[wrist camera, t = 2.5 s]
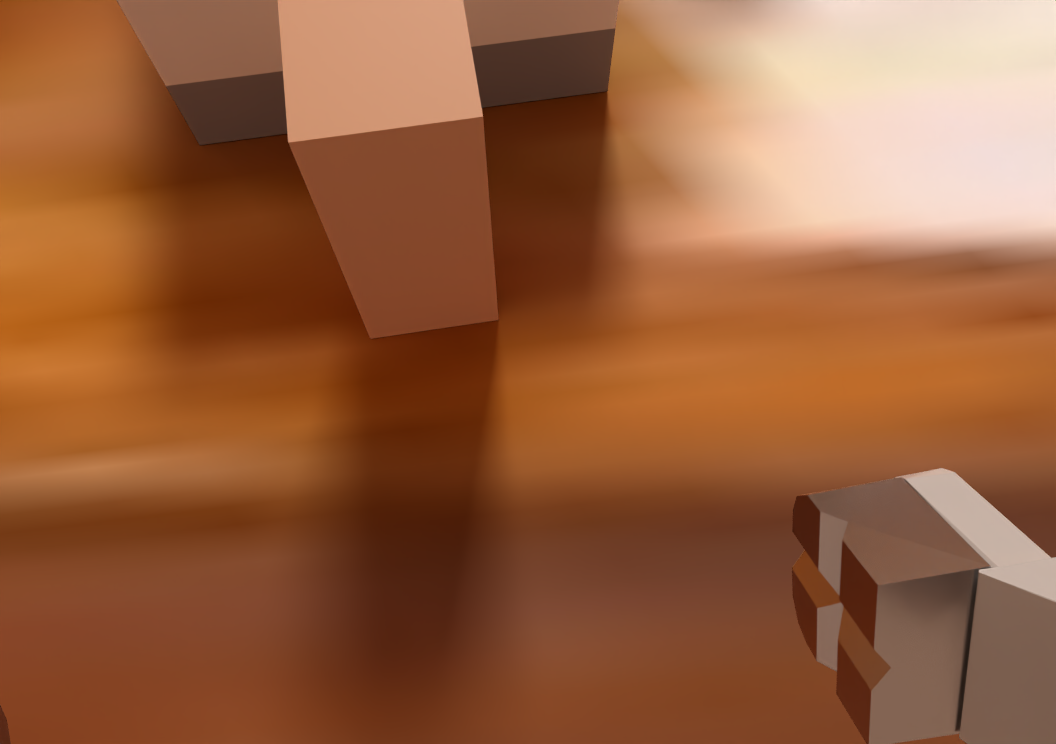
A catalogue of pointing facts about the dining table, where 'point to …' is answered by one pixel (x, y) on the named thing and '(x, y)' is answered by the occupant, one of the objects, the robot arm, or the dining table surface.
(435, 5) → the peg
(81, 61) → the dining table surface
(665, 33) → the dining table surface
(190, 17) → the socket box
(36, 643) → the dining table surface
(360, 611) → the dining table surface
